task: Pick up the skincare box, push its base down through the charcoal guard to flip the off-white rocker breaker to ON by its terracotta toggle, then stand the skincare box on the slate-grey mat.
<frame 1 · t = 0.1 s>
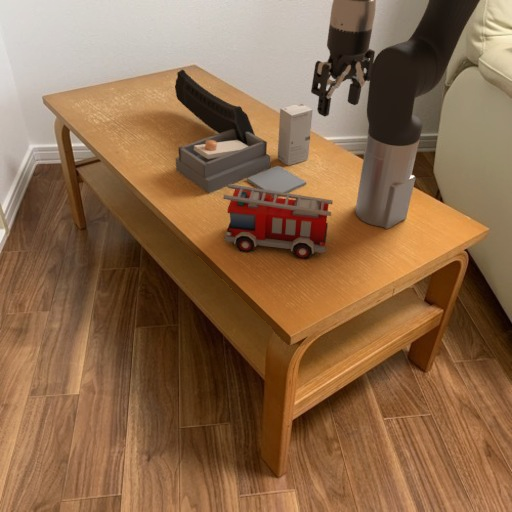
hand: (338, 109, 107), 17 cm above the table, tool pointing down, fingers open, 8 cm apart
breaker toggle: (223, 145, 119), point 6 cm above the table, hinge at -11.0°
skincare box: (292, 159, 127), on the table
slate mat: (276, 182, 118), on the table
magazine: (216, 126, 136), point 1 cm above the table, touching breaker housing
toy fire truck: (276, 242, 102), on the table
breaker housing: (223, 169, 122), on the table
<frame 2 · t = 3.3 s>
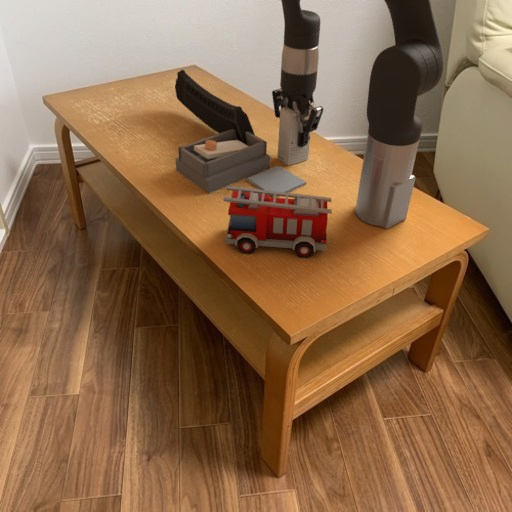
hand: (294, 141, 124), 4 cm above the table, tool pointing down, fingers closed on skincare box, 4 cm apart
skincare box: (292, 159, 127), on the table, touching gripper
everything else where it was.
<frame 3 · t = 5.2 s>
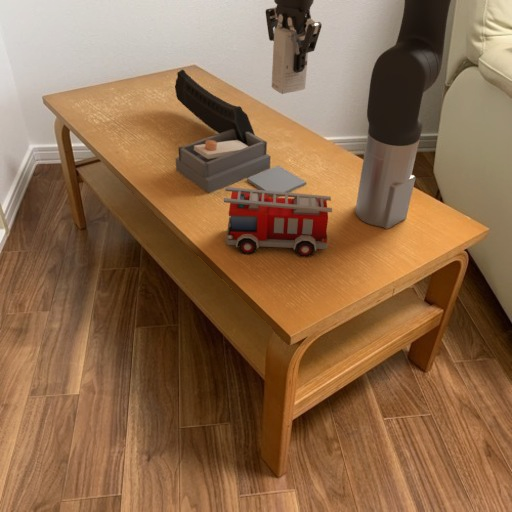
hand: (289, 67, 113), 21 cm above the table, tool pointing down, fingers closed on skincare box, 4 cm apart
skincare box: (288, 89, 116), point 17 cm above the table, touching gripper
everything else where it was.
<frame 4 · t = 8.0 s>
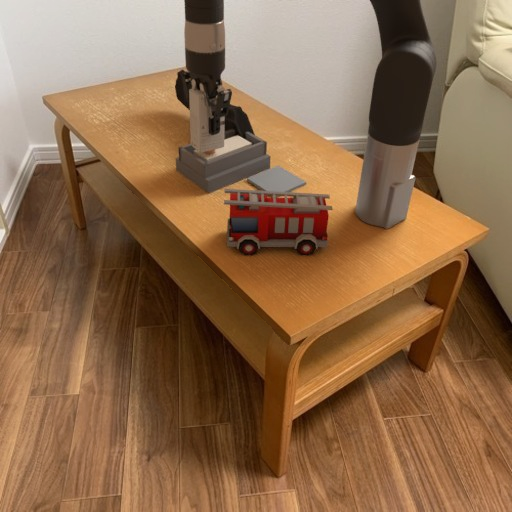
hand: (206, 128, 113), 11 cm above the table, tool pointing down, fingers closed on skincare box, 4 cm apart
breaker toggle: (223, 145, 119), point 6 cm above the table, hinge at -0.1°, touching skincare box
skincare box: (207, 146, 116), point 7 cm above the table, touching breaker toggle, gripper
everything else where it was.
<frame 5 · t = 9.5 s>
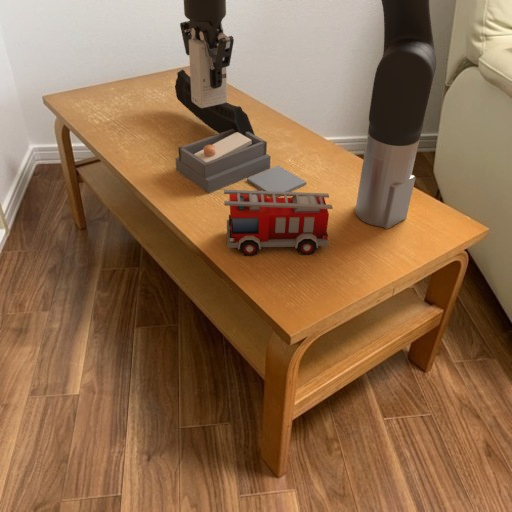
hand: (208, 82, 108), 20 cm above the table, tool pointing down, fingers closed on skincare box, 4 cm apart
breaker toggle: (222, 146, 119), point 6 cm above the table, hinge at 8.0°
skincare box: (209, 103, 110), point 16 cm above the table, touching gripper
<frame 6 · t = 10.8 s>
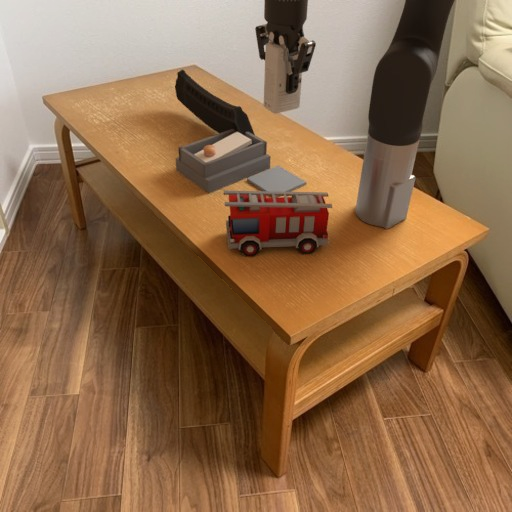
hand: (282, 88, 105), 21 cm above the table, tool pointing down, fingers closed on skincare box, 4 cm apart
breaker toggle: (222, 146, 119), point 6 cm above the table, hinge at 8.7°
skincare box: (281, 108, 108), point 17 cm above the table, touching gripper
when the fingers open (6 cm above the table, at t = 13.4 s): skincare box drops 2 cm, resting on slate mat.
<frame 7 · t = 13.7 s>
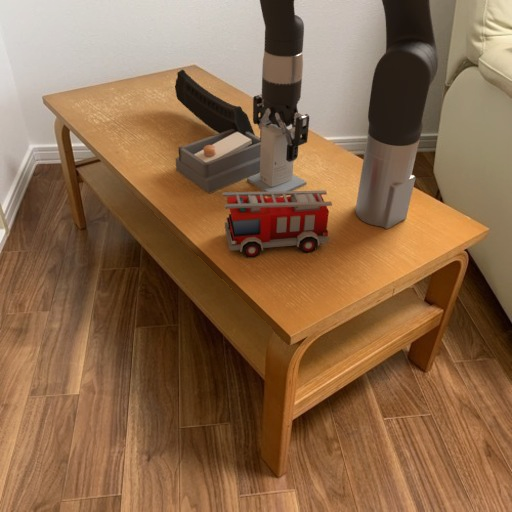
hand: (278, 152, 114), 7 cm above the table, tool pointing down, fingers open, 7 cm apart
skincare box: (276, 180, 118), resting on slate mat
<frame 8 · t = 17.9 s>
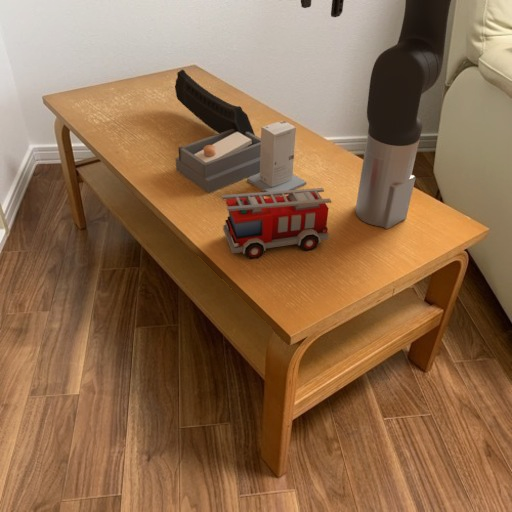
hand: (320, 11, 114), 30 cm above the table, tool pointing down, fingers open, 8 cm apart
at the end: breaker toggle at +9° (first picture: -11°); skincare box inside the target area on the slate mat (0.3 cm from its centre), point 0.4 cm above the slate mat's base; skincare box tilted 0° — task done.
